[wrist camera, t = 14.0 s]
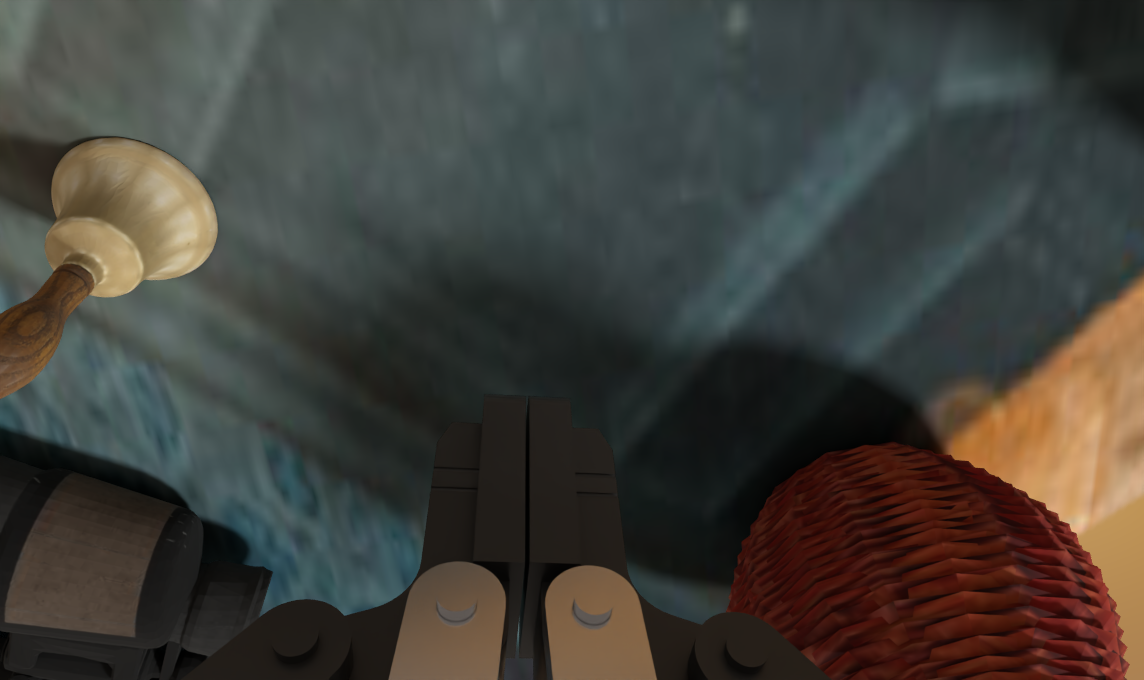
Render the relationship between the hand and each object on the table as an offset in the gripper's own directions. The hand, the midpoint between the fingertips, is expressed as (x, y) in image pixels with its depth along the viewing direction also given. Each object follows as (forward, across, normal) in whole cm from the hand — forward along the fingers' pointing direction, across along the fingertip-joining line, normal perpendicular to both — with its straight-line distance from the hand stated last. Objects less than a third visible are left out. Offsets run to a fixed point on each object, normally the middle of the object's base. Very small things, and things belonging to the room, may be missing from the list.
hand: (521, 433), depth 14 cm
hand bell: (+29, +20, +12) cm, 37 cm away
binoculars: (+29, +28, +44) cm, 59 cm away
